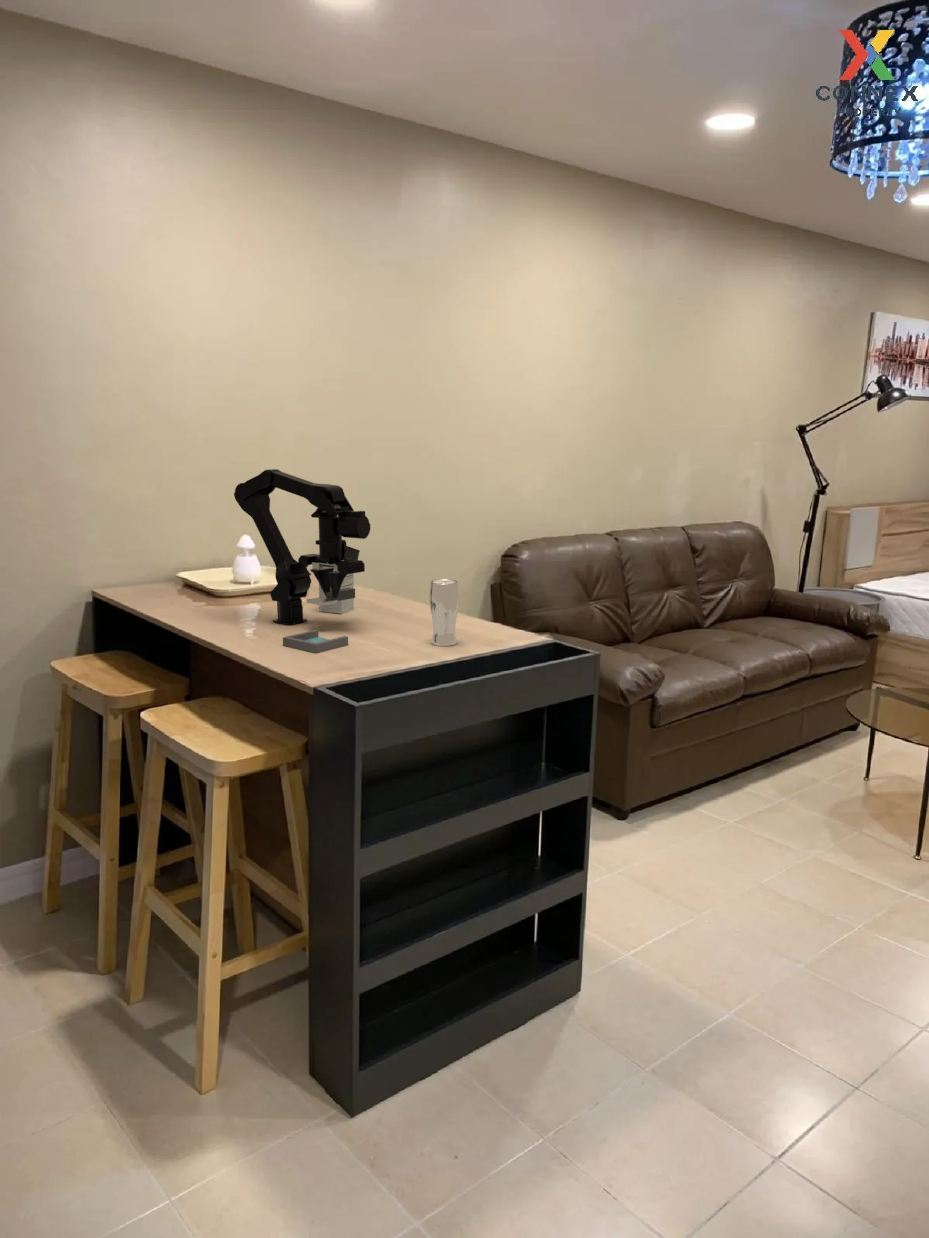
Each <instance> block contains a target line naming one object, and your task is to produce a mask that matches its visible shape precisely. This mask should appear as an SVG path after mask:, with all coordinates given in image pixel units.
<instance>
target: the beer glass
mask: <svg viewBox="0 0 929 1238" xmlns="http://www.w3.org/2000/svg"><path fill="white" fill-rule="evenodd" d="M429 585H430V586H429V609H430V614H431V616H430V617H431V620H432V621H431V622H432V628H433V629H432V636H431V644H432V645H433V644H434V645H433V646H438V647H450V646H456V644H457V643H458V640H457V635H456V624H457V618H458V613H459V605H460V604H459V603H460V598H459V597H460V593H459V581H458V580H456V579H449V578H446V579H443V578H441V579H432V580H430V584H429Z"/></svg>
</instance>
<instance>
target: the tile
mask: <svg viewBox="0 0 929 1238" xmlns="http://www.w3.org/2000/svg"><path fill="white" fill-rule="evenodd" d="M327 640H331V639H330V638H329V639H328V638H324V637H320V636H319V637H316V638H312V639H308V640H305V641H309V642H314V643H318V642H323V641H327Z"/></svg>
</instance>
